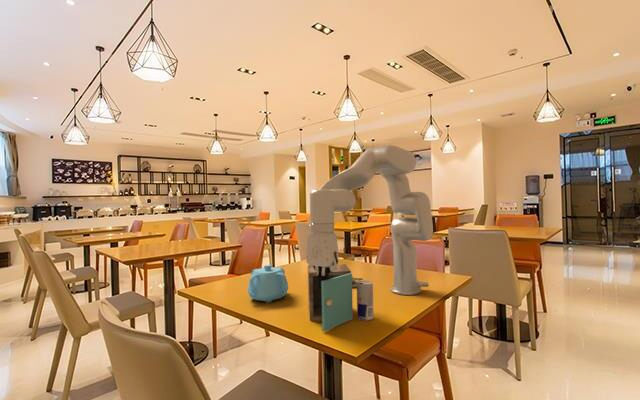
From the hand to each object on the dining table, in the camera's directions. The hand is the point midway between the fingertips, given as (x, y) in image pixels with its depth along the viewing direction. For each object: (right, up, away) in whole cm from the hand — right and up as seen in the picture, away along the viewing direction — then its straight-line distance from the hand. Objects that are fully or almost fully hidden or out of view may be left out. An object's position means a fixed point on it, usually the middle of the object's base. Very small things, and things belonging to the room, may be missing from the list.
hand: (323, 287), depth 103 cm
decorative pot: (-22, -13, +32) cm, 41 cm away
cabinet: (+2, -13, +12) cm, 18 cm away
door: (+5, -12, +1) cm, 13 cm away
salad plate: (+9, -13, +51) cm, 53 cm away
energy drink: (+14, -13, +7) cm, 20 cm away
